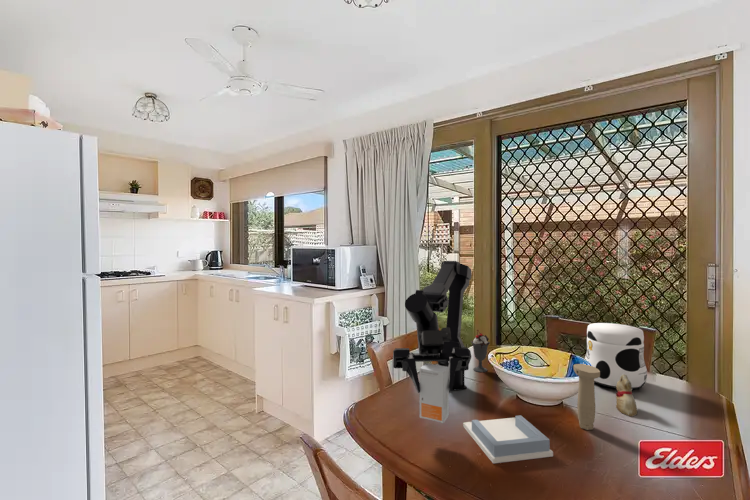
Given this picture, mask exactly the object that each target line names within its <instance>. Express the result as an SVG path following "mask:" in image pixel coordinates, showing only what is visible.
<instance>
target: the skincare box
mask: <svg viewBox="0 0 750 500" xmlns="http://www.w3.org/2000/svg"><path fill="white" fill-rule="evenodd" d="M418 371H419V373H418V375H419V376H418V379H419V384H420V393H418V394H419V402H418V404H419V409H418V410H419V418H420V419H425V420H429V421H433V422H437V423H441V424H444V423H445V422H446V420H447V419H448V417H449V415H450V412H449V408H450V407H449V404H450V403H449V401H450V399H449V397H450V396H449V393H450V391H449V367H446V366H440V365H438V364H433V363H426V362H425V363H423V365H422V366H420V367H419V370H418Z"/></svg>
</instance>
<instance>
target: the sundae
mask: <svg viewBox="0 0 750 500" xmlns="http://www.w3.org/2000/svg"><path fill="white" fill-rule="evenodd" d="M476 331H477V333H476V335H475V338H474V339H473V340H470V343H471V344H472V348H473V355H474V357H475V359H477V361H478V366H476V367H473V368H472V370H473V371H474V372H477V373H486V372H487V371H489V370H488V369H487V368H486V367H484V366H483V361H484V360H485V359H486V358H487V355H488V347H489V345H490V344H491V342H490V341H489V337H488V336H487V335H486V334H485V335H484V334H483V333H481V332H480V331H479V329H477V330H476ZM478 333H479V334H478Z"/></svg>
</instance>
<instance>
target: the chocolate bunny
mask: <svg viewBox="0 0 750 500" xmlns="http://www.w3.org/2000/svg"><path fill="white" fill-rule="evenodd" d="M631 386H632V385H631V382H630V381H629V379H628V377H627V375H621V377H620V380H619V381H618V382H617V385H616V388H615V389H616V391H617V392H615V399H616V405H615V408H616V410H617V411H618V412H619V413H621V414H623V415H625V416H628V417H634V416H637V414H638V407H637V402H636V399H635V397H634V396H633V391H632V390H633V389H632V387H631Z"/></svg>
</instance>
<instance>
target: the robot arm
mask: <svg viewBox="0 0 750 500" xmlns="http://www.w3.org/2000/svg"><path fill="white" fill-rule="evenodd" d="M440 266H441V267H440V269H439V270H438V272H437V274H436V276H435V278H434V279H433V281H432V283H431V284H428V285H427V286H424V288H422V290H421V289H420V290H419V289H416V290H415V293H412V294H411V295H409V296H408V297H407V298H406V299H405V301H404V307H405V309H406V311H407V313H408V315H409V316H410V318H411V320H412V321H413V322H414V323H415V324H416V335H417V337H416V338H417V347H418V352H417V353H415V352H411V351H410V348H409V347H408V348H405V347H403V348H402V347H400V348H399V347H397V348H396V347H395V348H394V349H393V351H392V368H393V369H402V371H403V372H406V374H407V375H408V376H409V378H410V379H411V381H412V383H413V385H414V387H415V389H416V391H417V393H418V394H419V393H420V384H419V376H418V375H419V373H418V370H417V362H419V363H420V362H425V363H426V362H437V365H440V366H446V367H449V393H452V392H453V391H459V390H467V389H468V386H467V385H466V384H465V371H469V368H470V367H469V366H470V363H471V360H472V352H471V350H470V349H469V348H468V347H467V346H466V347H465V344H464V343H463V340H462V338H461V332H462V331H461V330H462V317H463V305H464V304H463V303H464V293H465V291H466V290H467V288H468V287H469V286H470V281H471V280H472V269H471V267H469V265H466V264H463V263H460V261H457V260H444V261H442V262H441V265H440ZM447 295H448V296H447ZM446 309H447V314H446V324H445V325H446V326H445V327H442V328H441V330H440V327H439V321H438V315H437V314H436V313H444V312H445V310H446Z"/></svg>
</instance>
